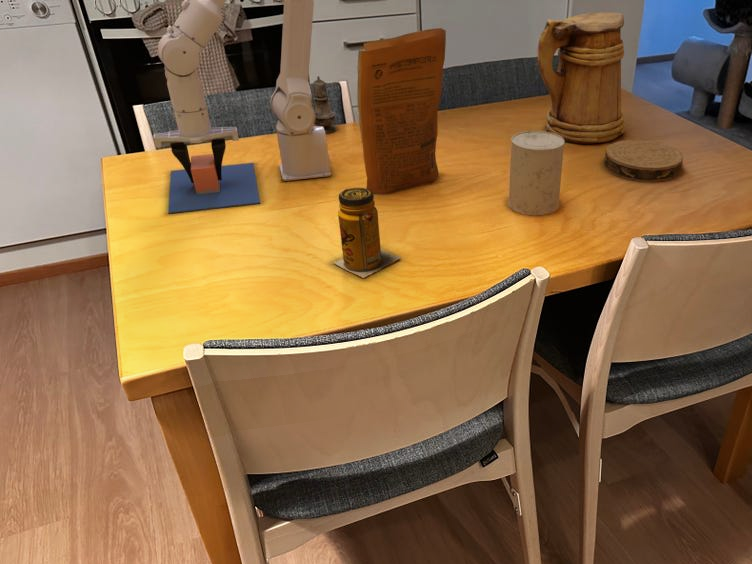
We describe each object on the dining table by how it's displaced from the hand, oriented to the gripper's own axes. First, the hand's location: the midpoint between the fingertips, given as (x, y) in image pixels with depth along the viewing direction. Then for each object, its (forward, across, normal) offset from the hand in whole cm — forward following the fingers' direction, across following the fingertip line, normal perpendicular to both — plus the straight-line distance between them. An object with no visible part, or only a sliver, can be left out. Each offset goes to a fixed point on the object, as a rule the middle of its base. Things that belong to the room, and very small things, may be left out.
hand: (206, 179), depth 133 cm
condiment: (+2, +24, -37) cm, 44 cm away
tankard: (+2, +82, +10) cm, 83 cm away
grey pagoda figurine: (+2, +26, +27) cm, 38 cm away
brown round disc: (+2, +87, -13) cm, 88 cm away
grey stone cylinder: (+2, +58, -24) cm, 63 cm away
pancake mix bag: (+2, +37, -9) cm, 38 cm away
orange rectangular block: (+1, 0, 0) cm, 1 cm away
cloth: (+2, +1, 0) cm, 2 cm away
